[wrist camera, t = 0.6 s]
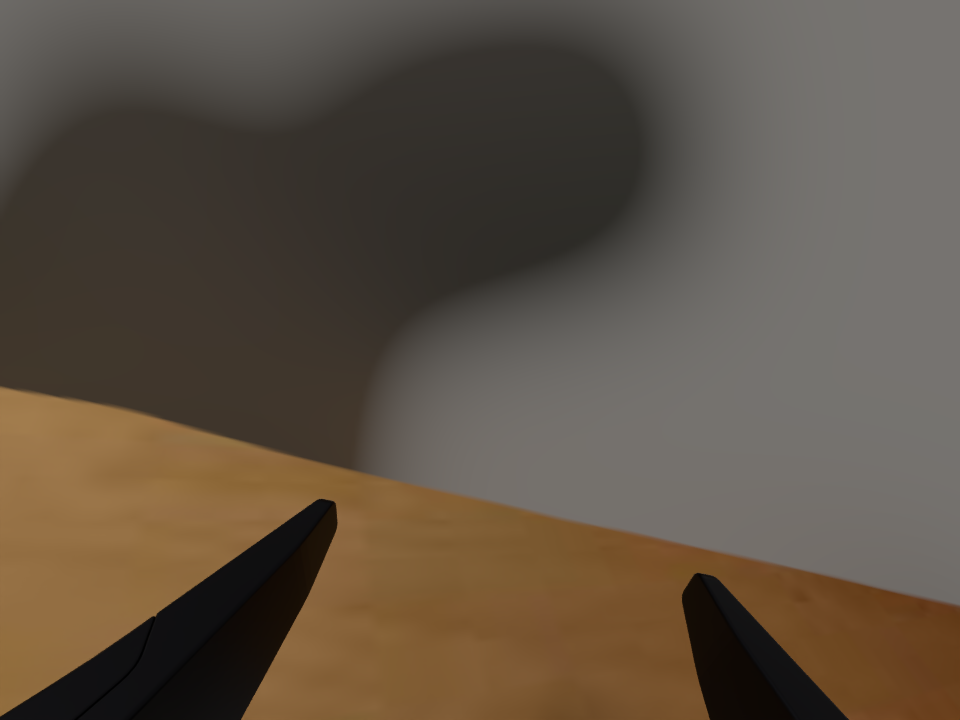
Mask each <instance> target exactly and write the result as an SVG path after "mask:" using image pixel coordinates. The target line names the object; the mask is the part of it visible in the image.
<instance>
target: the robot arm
mask: <svg viewBox="0 0 960 720" xmlns="http://www.w3.org/2000/svg"><path fill="white" fill-rule="evenodd" d="M336 529H337V511H336V503H335V502H334V501H330V500H325V499H319V500H316V501H315V502H313V503H312V504H311V505H309V506H308V507H306V508H305V509H304V510H302V511H301V512H299V513H298V514H296V515H295V516H294V517H292V518H291V519H289V520H288V521H287V522H285V523H284V524H282V525H281V526H280V527H278V528H277V529H275V530H274V531H272V532H271V533H270V534H268V535H267V536H265V537H264V538H263V539H261V540H260V541H258V542H257V543H256V544H254V545H253V546H251V547H250V548H248V549H247V550H246V551H244V552H243V553H241V554H240V555H239V556H237V557H236V558H234V559H233V560H232V561H230V562H229V563H227V564H226V565H224V566H223V567H222V568H220V569H219V570H217V571H216V572H215V573H213V574H212V575H210V576H209V577H208V578H206V579H205V580H203V581H202V582H200V583H199V584H198V585H196V586H195V587H193V588H192V589H191V590H189V591H188V592H186V593H185V594H184V595H182V596H181V597H179V598H178V599H176V600H175V601H174V602H172V603H171V604H169V605H168V606H167V607H165V608H164V609H162V610H161V611H160V612H158V613H157V615H156V617H155V616H153V617H151V618H149V619H148V620H147V621H145V622H144V623H142V624H141V625H140V626H138V627H137V628H135V629H134V630H132V631H131V632H130V633H128V634H127V635H125V636H124V637H122V638H121V639H119V640H118V641H117V642H115V643H114V644H112V645H111V646H109V647H108V648H106V649H105V650H103V651H102V652H100V653H99V654H98V655H96V656H95V657H93V658H92V659H90V660H89V661H87V662H85V663H84V664H82V665H81V666H79V667H78V668H76V669H75V670H73V671H72V672H70V673H68V674H67V675H65V676H64V677H62V678H61V679H59V680H58V681H56V682H54V683H53V684H51V685H50V686H48V687H47V688H45V689H43V690H42V691H40V692H39V693H37V694H35V695H34V696H32V697H31V698H29V699H27V700H26V701H24V702H23V703H21V704H20V705H18V706H16V707H15V708H13V709H12V710H10V711H8V712H7V713H5V714H4V715H2V716H0V720H241V718H242V717H243V715H244V713H245V711H246V709H247V707H248V706H249V704H250V702H251V700H252V698H253V696H254V695H255V693H256V691H257V689H258V687H259V685H260V684H261V682H262V680H263V678H264V676H265V674H266V673H267V671H268V669H269V667H270V665H271V663H272V662H273V660H274V658H275V656H276V654H277V652H278V651H279V649H280V647H281V645H282V643H283V641H284V639H285V638H286V636H287V634H288V632H289V630H290V628H291V627H292V625H293V623H294V621H295V619H296V617H297V616H298V614H299V612H300V610H301V608H302V606H303V605H304V603H305V601H306V599H307V597H308V595H309V592H310V590H311V588H312V586H313V584H314V581H315V579H316V577H317V574H318V572H319V570H320V567H321V565H322V563H323V560H324V558H325V556H326V553H327V551H328V549H329V546H330V544H331V542H332V539H333V537H334V535H335V532H336ZM682 604H683V609H684V614H685V619H686V624H687V628H688V633H689V638H690V643H691V648H692V653H693V658H694V663H695V667H696V672H697V676H698V680H699V684H700V687H701V691H702V694H703V698H704V701H705V704H706V708H707V711H708V714H709V718H710V720H849V719H848V718H847V717H846V716H845V715H844V714H843V713H842V712H841V711H840V710H839V709H838V708H837V706H836V705H835V704H834V703H833V702H832V701H831V700H830V699H829V698H828V697H827V696H826V695H825V694H824V692H823V691H822V690H821V689H820V688H819V687H818V686H817V685H816V684H815V683H814V682H813V681H812V680H811V679H810V677H809V676H808V675H807V674H806V673H805V672H804V671H803V670H802V669H801V668H800V667H799V666H798V665H797V663H796V662H795V661H794V660H793V659H792V658H791V657H790V656H789V655H788V654H787V653H786V652H785V651H784V650H783V648H782V647H781V646H780V645H779V644H778V643H777V642H776V641H775V640H774V639H773V638H772V637H771V636H770V634H769V633H768V632H767V631H766V630H765V629H764V628H763V627H762V626H761V625H760V624H759V623H758V622H757V621H756V619H755V618H754V617H753V616H752V615H751V614H750V613H749V612H748V611H747V610H746V609H745V608H744V607H743V605H742V604H741V603H740V602H739V601H738V600H737V599H736V598H735V597H734V596H733V595H732V594H731V593H730V591H729V590H728V589H727V588H726V587H725V586H724V585H723V584H722V583H721V582H720V581H719V580H718V579H717V578H716V577H714V576H711V575H706V574H701V573H696V574H694V575H693V577H692V579H691V580H690V582H689V583H688V585H687V586H686V588H685V590H684V591H683V594H682Z"/></svg>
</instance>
